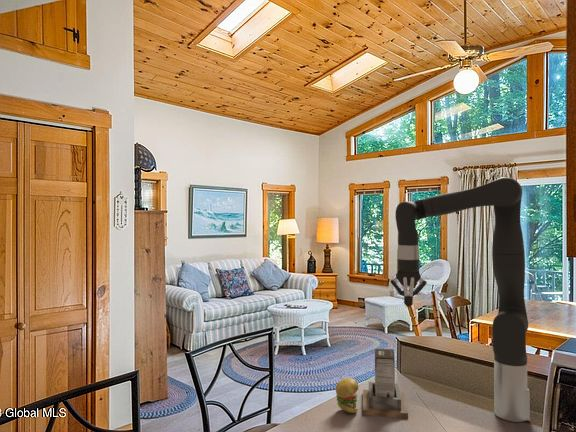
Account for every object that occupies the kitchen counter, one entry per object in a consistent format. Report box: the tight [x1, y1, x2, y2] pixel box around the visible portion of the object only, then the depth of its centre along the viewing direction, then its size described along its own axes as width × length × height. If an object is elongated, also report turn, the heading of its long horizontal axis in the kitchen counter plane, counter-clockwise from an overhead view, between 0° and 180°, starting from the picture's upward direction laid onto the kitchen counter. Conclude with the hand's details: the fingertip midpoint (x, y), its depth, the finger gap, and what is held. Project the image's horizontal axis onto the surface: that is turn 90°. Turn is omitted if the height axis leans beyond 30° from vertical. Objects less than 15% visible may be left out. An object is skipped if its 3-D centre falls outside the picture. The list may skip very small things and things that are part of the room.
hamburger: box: [335, 375, 359, 414], centre depth 138 cm, size 8×7×12 cm
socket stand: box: [362, 381, 409, 419], centre depth 143 cm, size 14×16×5 cm
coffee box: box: [374, 348, 396, 398], centre depth 143 cm, size 9×6×16 cm
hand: (408, 306), depth 152 cm, fingers closed
